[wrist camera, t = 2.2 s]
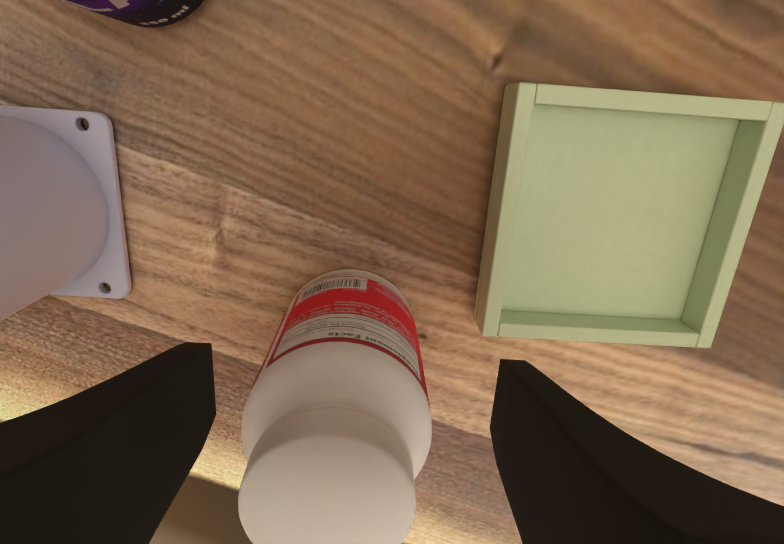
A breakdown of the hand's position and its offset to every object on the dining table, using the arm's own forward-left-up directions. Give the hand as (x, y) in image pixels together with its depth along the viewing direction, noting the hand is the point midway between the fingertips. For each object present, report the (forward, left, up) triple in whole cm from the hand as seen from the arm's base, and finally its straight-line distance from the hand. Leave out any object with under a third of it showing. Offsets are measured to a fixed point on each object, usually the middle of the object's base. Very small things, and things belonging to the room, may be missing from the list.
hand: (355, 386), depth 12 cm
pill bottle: (-1, -3, -11) cm, 11 cm away
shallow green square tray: (+10, +3, -10) cm, 15 cm away
